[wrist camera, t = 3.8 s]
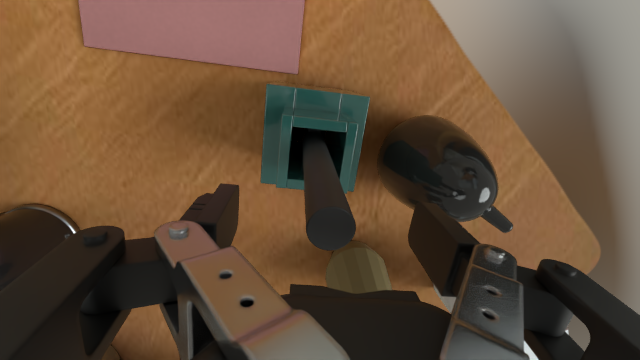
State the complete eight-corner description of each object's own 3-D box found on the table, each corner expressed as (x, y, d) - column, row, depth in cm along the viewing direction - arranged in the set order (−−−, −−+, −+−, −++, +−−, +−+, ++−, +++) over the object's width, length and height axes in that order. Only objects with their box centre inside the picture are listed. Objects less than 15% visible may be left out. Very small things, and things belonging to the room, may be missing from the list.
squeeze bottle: (332, 227, 40) (355, 339, 23) (387, 239, 41) (448, 353, 25) (316, 275, 43) (328, 408, 26) (369, 285, 44) (412, 418, 27)
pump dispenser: (411, 204, 40) (473, 278, 26) (353, 159, 37) (387, 213, 23) (467, 146, 37) (570, 191, 23) (409, 93, 35) (486, 107, 20)
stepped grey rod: (300, 135, 36) (302, 255, 12) (302, 113, 35) (310, 197, 11) (316, 136, 36) (350, 258, 12) (319, 115, 35) (361, 202, 12)
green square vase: (269, 157, 36) (252, 205, 23) (274, 80, 33) (258, 86, 20) (341, 164, 37) (364, 215, 24) (352, 90, 34) (386, 102, 21)
